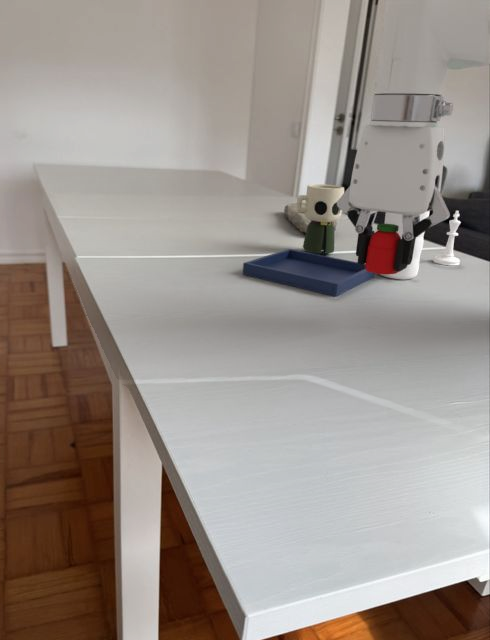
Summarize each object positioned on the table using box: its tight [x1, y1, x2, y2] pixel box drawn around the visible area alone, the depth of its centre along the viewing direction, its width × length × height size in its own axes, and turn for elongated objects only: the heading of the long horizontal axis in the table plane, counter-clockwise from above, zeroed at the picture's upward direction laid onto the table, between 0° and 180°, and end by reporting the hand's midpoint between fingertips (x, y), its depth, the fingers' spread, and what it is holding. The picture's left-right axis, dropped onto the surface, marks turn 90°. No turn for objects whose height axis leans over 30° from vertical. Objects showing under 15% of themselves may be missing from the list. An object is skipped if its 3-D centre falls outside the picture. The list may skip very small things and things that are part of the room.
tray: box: [242, 248, 376, 297], centre depth 94 cm, size 17×15×2 cm
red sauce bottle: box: [365, 223, 401, 275], centre depth 70 cm, size 4×4×6 cm
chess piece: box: [432, 210, 462, 267], centre depth 106 cm, size 5×5×10 cm
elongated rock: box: [283, 202, 338, 234], centre depth 139 cm, size 35×5×10 cm
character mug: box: [296, 183, 345, 254], centre depth 109 cm, size 11×7×13 cm, turn 99°
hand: (382, 264), depth 71 cm, fingers closed on red sauce bottle, 4 cm apart
